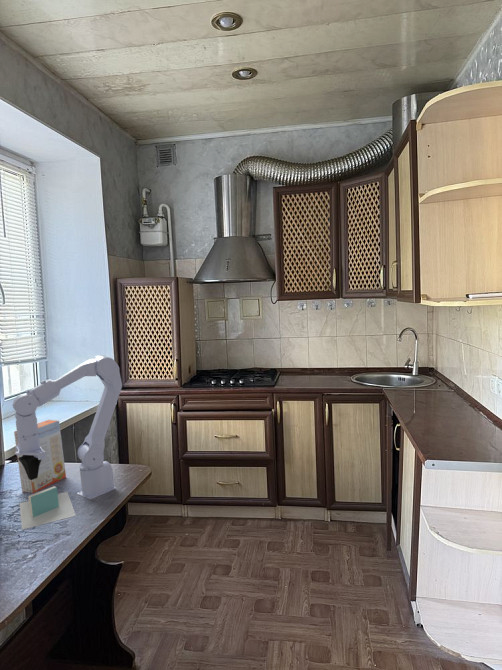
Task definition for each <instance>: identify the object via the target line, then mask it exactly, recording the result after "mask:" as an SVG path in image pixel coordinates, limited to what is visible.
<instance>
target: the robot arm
mask: <svg viewBox="0 0 502 670" xmlns="http://www.w3.org/2000/svg"><path fill="white" fill-rule="evenodd" d="M84 377H98V378H99V380H100V381H101V383H102V384H103V386H104V389H103V391H102V394H101V396H100V401H99V404H98V405H97V406H98V407H97V409H96V412H95V415H94V418H93V420H92V424H91V426H90V429H89V433H88V434H87V435H86V436H85V437H84V441H83V443H81V445H80V446H78V449H77V457H78V459H79V460H80V461H81V463H80V464H79V472H80V473H79V474H80V482H81V483H80V484H81V491H79V492H76V495H77V496H80V497H83V498H85V499H88V500H92V499H95V498H97V497H99V496H102V495H104V494H107V493H109V492H111V491H114V490H116V489H117V488H116V487H115V481H114V480H115V479H114V474H113V473H114V471H113V467H112V465H111V463H110V462H109V461H107V460H104V459H105V456H104V451H105V446H106V445H105V438H106V435H107V434H108V429H109V426H110V424H111V421H112V418H113V414H114V412H115V408H116V406H117V403H118V399H119V397H120V394H121V391H122V388H123V382H122V378H121V372H120V367H119V365H118V363H117V361H115V359H114V358H112V357H107V356H105V355H102V354H100V355H95V356H94V357H93V358H89V359H87V360H86V361H83V362H82V363H80V364H79V365H77V366H75V367H74V368H72V369H70V370H69V371H67V372H66V373H65V374H63V375H61V376H59V377H58V378H57V379H54V380H53V379H47V380H45V379H43V380H40V384H38V385H36V386H35V387H32V388H31V389H27V390H25V391H24V392H25V393H21V394H19V395H17V396H16V397H15V398H14V400H13V402H12V403H13V404H12V408H13V410H14V411H15V415H14V416H15V427H16V431H17V436H18V445H17V446H16V445H15V446H14V449H15V453H14V454H15V455H16V456H17V455H23V456H22V457H19V458H18V457H17V460H18V459H19V461H20V462H21V463H22V465H23V467H24V469H25V471H26V474H27V476H28V478H29V480H33V479H36V478H37V477H38V471H39V466H40V462H41V460H42V459H44V458H46V453H45V451H43V449H42V448H41V446H40V441H39V433H38V418H37V415H36V410H37V409H38V407H42V406H43V405H45V404H47V403H49V402H51V401H53V399H55V398H57V397H59V396H60V393H61V391H62V389H65V388H66V387H68V386H69V385H71V384H73V383H75V382H77V381H80V380H81V379H83V378H84Z"/></svg>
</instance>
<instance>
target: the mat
mask: <svg viewBox="0 0 502 670" xmlns="http://www.w3.org/2000/svg"><path fill="white" fill-rule="evenodd" d="M58 501H59V507H57V508H54V509H52V510H50V511H47V512H45V513H43V514H40V515H38V516H35V517H31V516H30V508H29V500H28V501H23V502H19V511H20V522H21V523H20V524H21V530H26V529H30V528H33V527H38V526H42V525H45V524H49V523H53V522H56V521H61V520H65V519H69V518H71V517H77V515H76V511H75V510H74V507H73V504H72V501H71V498H70V496H69V493H68V491H65V492H61V493H58Z"/></svg>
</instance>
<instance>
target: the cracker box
mask: <svg viewBox="0 0 502 670" xmlns="http://www.w3.org/2000/svg"><path fill="white" fill-rule="evenodd" d="M37 424H38V433H39V441H40V446H41V448H42V449H43V451H45V453H46V458H44V459H42V460H41V462H40V466H39V471H38V477H37V478H36V479H33V480H29V478H28V476H27V474H26V471H25V469H24V467H23V465H22V463H21V462H20V461H19V459H18V458H19V457H22V456H23V455H16V456H17V462H18V469H19V479H20V485H21V491H22V493H30V494H35V493H38V492H40V491H42V490H44V489H46V488H47V487H50V486H51V485H54V484H55V483H58V482H60V481H61V480H64V479H66V477H67V474H66V473H67V471H66V468H65V467H66V466H65V465H66V464H65V458H64V451H63V441H62V434H61V426H60V425H61V424H60V421H59V420H58V419H56V420H55V419H47V420H44V421H41V422H37ZM13 433H14V442H15V446H17V445H18V436H17V430H15V431H14V432H13Z"/></svg>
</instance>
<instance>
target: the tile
mask: <svg viewBox="0 0 502 670" xmlns="http://www.w3.org/2000/svg"><path fill="white" fill-rule="evenodd" d="M58 494H59V493H58V487H57V486H55V485H53V486H51V487H48V488H45V489H42V490H39V491H37V492H35V493H32V494H31V495H28V499H27V500H28V501H29V508H30V516H31V517H35V516H38V515H40V514H43V513H45V512H47V511H50V510H52V509H54V508H57V507H59V501H58Z"/></svg>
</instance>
